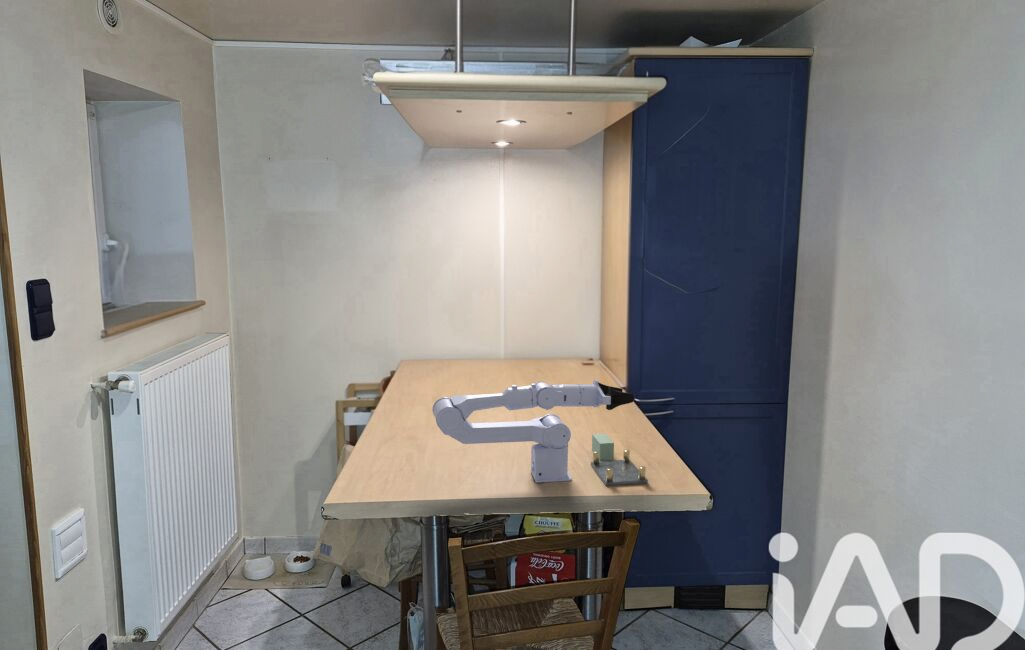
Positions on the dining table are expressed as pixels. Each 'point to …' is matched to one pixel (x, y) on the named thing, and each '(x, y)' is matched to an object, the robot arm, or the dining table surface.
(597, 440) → the board block
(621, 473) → the plate
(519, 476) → the dining table surface
